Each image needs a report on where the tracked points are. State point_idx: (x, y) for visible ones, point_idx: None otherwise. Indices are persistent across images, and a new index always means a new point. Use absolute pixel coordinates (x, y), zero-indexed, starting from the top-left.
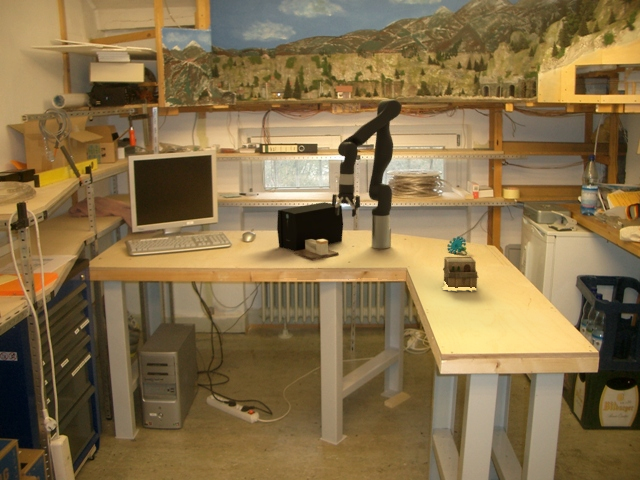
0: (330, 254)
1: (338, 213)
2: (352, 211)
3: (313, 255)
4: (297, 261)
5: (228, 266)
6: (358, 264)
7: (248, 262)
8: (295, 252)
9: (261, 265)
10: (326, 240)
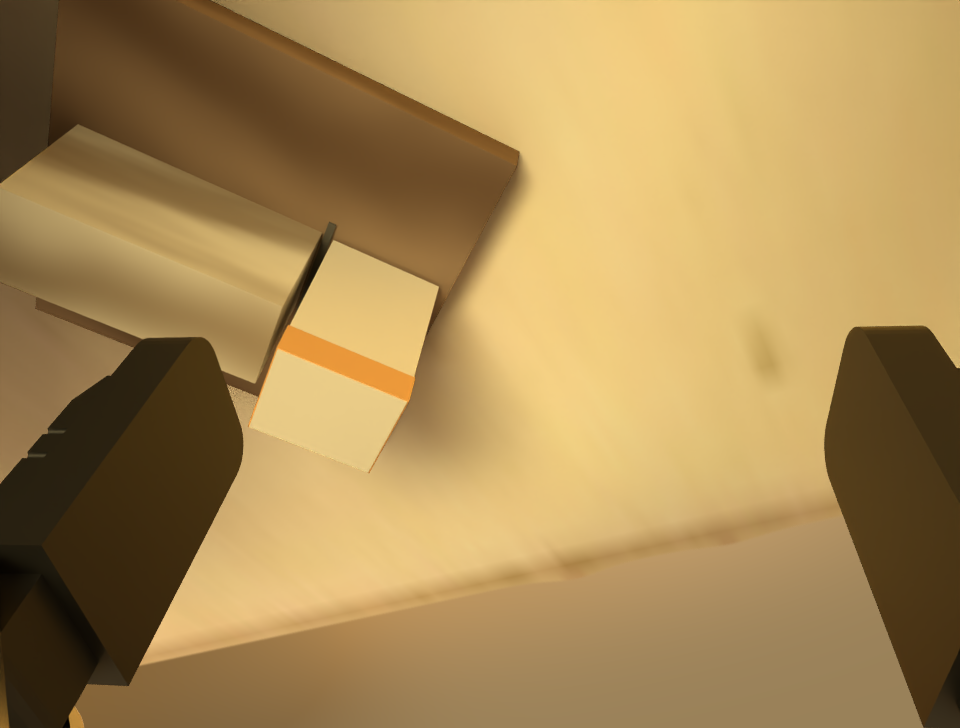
0: (462, 266)
1: (200, 417)
2: (906, 627)
3: None
4: (292, 480)
5: None
6: None
7: None
8: (65, 312)
9: None
10: (388, 406)
